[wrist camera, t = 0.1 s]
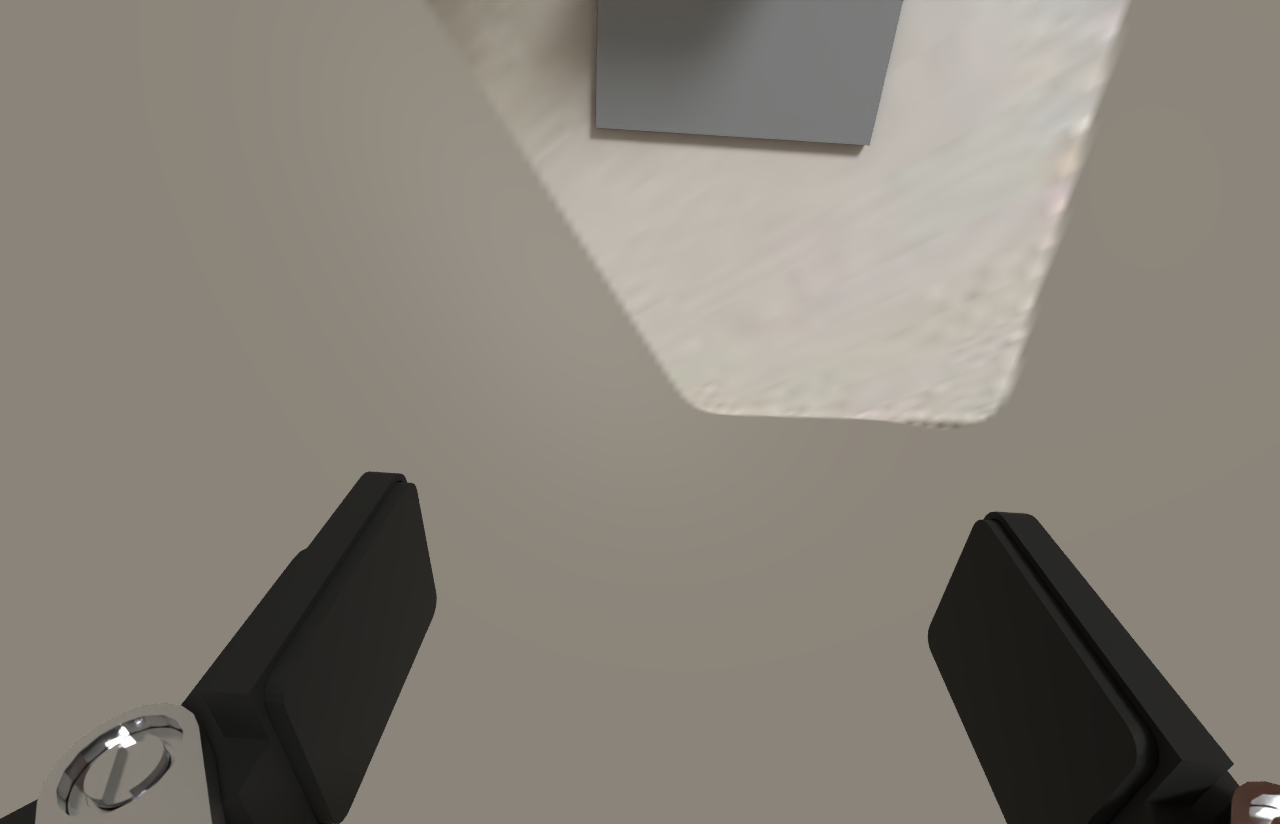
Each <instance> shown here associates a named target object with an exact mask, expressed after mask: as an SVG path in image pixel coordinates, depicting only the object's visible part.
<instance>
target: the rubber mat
mask: <svg viewBox="0 0 1280 824" xmlns="http://www.w3.org/2000/svg"><path fill="white" fill-rule="evenodd" d="M902 3H903V0H598V9H597V76H596V128H610V129H625V130H640V131H656V132H671V133H687V134H702V135H717V136H733V137H748V138H764V139H779V140H794V141H810V142H825V143H841V144H856V145H870V141H871V136H872V132H873V128H874V123H875V119H876V115H877V111H878V106H879V102H880V98H881V93H882V89H883V85H884V80H885V76H886V72H887V67H888V63H889V59H890V54H891V50H892V46H893V42H894V37H895V33H896V29H897V24H898V20H899V16H900V11H901V7H902Z"/></svg>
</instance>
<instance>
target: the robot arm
mask: <svg viewBox="0 0 1280 824" xmlns="http://www.w3.org/2000/svg"><path fill="white" fill-rule="evenodd" d="M436 599H437V597H436V590H435V584H434V579H433V573H432V568H431V563H430V557H429V552H428V547H427V542H426V536H425V531H424V525H423V520H422V514H421V509H420V504H419V498H418V493H417V489H416V486H415V484H413V483H407V481H406V478H405V476H404V475H403V474H398V473H382V472H366V473H365V474H363V475H362V476H361V478H360V479H359V480H358V481H357V483H356V484H355V485H354V487H353V488H352V489H351V491H350V492H349V493H348V495H347V496H346V498H345V499H344V500H343V501H342V503H341V504H340V505H339V507H338V508H337V509H336V511H335V512H334V513H333V515H332V516H331V517H330V519H329V520H328V521H327V523H326V524H325V525H324V526H323V528H322V529H321V530H320V532H319V533H318V534H317V536H316V537H315V538H314V540H313V541H312V542H311V544H310V545H309V546H308V548H306V549H304V550H302V551H301V552H299V554H298V555H297V556H296V557H295V558H294V559H293V560H292V561H291V563H290V564H289V565H288V566H287V568H286V569H285V570H284V572H283V573H282V574H281V576H280V577H279V578H278V579H277V581H276V582H275V583H274V585H273V586H272V587H271V589H270V590H269V591H268V593H267V594H266V595H265V597H264V598H263V599H262V600H261V602H260V603H259V604H258V605H257V607H256V608H255V610H254V611H253V612H252V614H251V615H250V616H249V617H248V619H247V620H246V621H245V622H244V624H243V625H242V626H241V628H240V629H239V630H238V632H237V633H236V634H235V636H234V637H233V638H232V640H231V641H230V642H229V643H228V645H227V646H226V647H225V649H224V650H223V651H222V652H221V654H220V655H219V656H218V658H217V659H216V660H215V662H214V663H213V664H212V666H211V667H210V668H209V669H208V671H207V672H206V673H205V675H204V676H203V677H202V679H201V680H200V681H199V683H198V684H197V685H196V686H195V688H194V689H193V690H192V692H191V693H190V694H189V696H188V697H187V698H186V700H185V701H184V702H183V703H182V705H174V704H168V703H161V704H153V705H145V706H142V707H139V708H136V709H133V710H130V711H127V712H124V713H122V714H119V715H118V716H116V717H114V718H112V719H110V720H108V721H106V722H105V723H103V724H101V725H99V726H97V727H96V728H95V729H93V730H92V731H91V732H89V733H88V734H87V735H85V736H84V737H83V738H81V739H80V740H78V741H77V742H76V743H75V744H74V745H73V746H72V747H71V748H70V749H69V750H68V751H67V752H66V753H65V754H64V755H63V756H62V757H61V758H60V759H59V760H58V761H57V762H56V764H55V766H54V767H53V769H52V770H51V771H50V773H49V774H48V776H47V778H46V779H45V781H44V782H43V784H42V788H41V791H40V795H39V798H38V799H37V800H35V801H33V802H32V803H30V804H28V805H26V806H24V807H22V808H20V809H18V810H16V811H14V812H12V813H11V814H9V815H7V816H5V817H3V818H1V819H0V824H340V823H341V822H342V821H343V820H344V818H345V817H346V815H347V814H348V812H349V810H350V807H351V805H352V803H353V801H354V798H355V796H356V794H357V791H358V789H359V787H360V784H361V782H362V780H363V777H364V775H365V773H366V771H367V768H368V766H369V764H370V761H371V759H372V757H373V754H374V752H375V749H376V747H377V745H378V743H379V740H380V738H381V736H382V733H383V731H384V729H385V727H386V724H387V722H388V720H389V717H390V715H391V713H392V710H393V708H394V706H395V703H396V701H397V699H398V697H399V694H400V692H401V690H402V687H403V685H404V683H405V680H406V678H407V676H408V673H409V671H410V669H411V667H412V664H413V662H414V659H415V657H416V655H417V652H418V650H419V648H420V646H421V643H422V641H423V639H424V636H425V634H426V632H427V630H428V627H429V625H430V623H431V620H432V618H433V615H434V612H435V608H436ZM928 643H929V647H930V650H931V653H932V655H933V657H934V660H935V662H936V664H937V666H938V668H939V671H940V673H941V675H942V678H943V680H944V682H945V684H946V687H947V689H948V691H949V693H950V696H951V698H952V700H953V703H954V705H955V707H956V709H957V712H958V714H959V716H960V718H961V721H962V723H963V725H964V727H965V730H966V732H967V734H968V736H969V739H970V741H971V743H972V745H973V748H974V750H975V752H976V754H977V757H978V759H979V761H980V763H981V766H982V768H983V770H984V772H985V775H986V777H987V779H988V782H989V784H990V786H991V788H992V791H993V792H994V795H995V797H996V799H997V802H998V804H999V806H1000V809H1001V811H1002V813H1003V815H1004V818H1005V820H1006V822H1007V824H1280V785H1278V784H1274V783H1270V782H1266V781H1258V782H1257V781H1252V782H1246V783H1244V784H1242V785H1241V786H1239V785H1238V784H1237V782H1236V781H1235V780H1234V779H1233V777H1232V776H1231V775H1230V774H1229V772H1227V770H1228V769H1229V768H1230V767H1231V766H1232V765H1233V764H1234V763H1233V762H1232V761H1231V760H1230V759H1229V757H1228V756H1227V755H1226V753H1225V752H1224V751H1223V750H1222V748H1221V747H1220V746H1219V745H1218V743H1216V741H1215V740H1214V739H1213V737H1212V736H1211V735H1210V734H1209V733H1208V731H1207V730H1206V729H1205V727H1204V726H1203V725H1202V724H1201V722H1200V721H1199V720H1198V719H1197V717H1196V716H1195V715H1194V714H1193V713H1192V711H1191V710H1190V709H1189V708H1188V706H1187V705H1186V704H1185V703H1184V701H1183V700H1182V699H1181V698H1180V696H1179V695H1178V694H1177V693H1176V691H1175V690H1174V689H1173V688H1172V686H1171V685H1170V684H1169V683H1168V681H1167V680H1166V679H1165V678H1164V677H1163V675H1162V674H1161V673H1160V672H1159V670H1158V669H1157V668H1156V667H1155V665H1154V664H1153V663H1152V662H1151V660H1150V659H1149V658H1148V657H1147V656H1146V654H1145V653H1144V652H1143V650H1142V649H1141V648H1140V647H1139V646H1138V644H1137V643H1136V642H1135V641H1134V639H1133V638H1132V637H1131V636H1130V634H1129V633H1128V632H1127V631H1126V629H1125V628H1124V627H1123V626H1122V624H1121V623H1120V622H1119V621H1118V619H1117V618H1116V617H1115V616H1114V614H1113V613H1112V612H1111V611H1110V610H1109V608H1108V607H1107V606H1106V605H1105V603H1104V602H1103V601H1102V600H1101V598H1100V597H1099V596H1098V595H1097V593H1096V592H1095V591H1094V590H1093V588H1092V587H1091V586H1090V585H1089V584H1088V582H1087V581H1086V580H1085V578H1084V577H1083V576H1082V575H1081V574H1080V572H1079V571H1078V570H1077V569H1076V567H1075V566H1074V565H1073V564H1072V562H1071V561H1070V560H1069V559H1068V558H1067V556H1066V555H1065V554H1064V553H1063V551H1062V550H1061V549H1060V547H1059V546H1058V545H1057V544H1056V543H1055V542H1054V540H1053V539H1052V538H1051V536H1050V535H1049V534H1048V533H1047V531H1046V530H1045V529H1044V528H1043V526H1042V525H1041V524H1040V523H1039V522H1038V520H1037V519H1036V518H1035V517H1033V516H1032V515H1029V514H1023V513H1007V512H990V513H989V514H988V515H986V516H985V518H984V520H978V521H977V522H976V523H975V524H974V526H973V528H972V530H971V532H970V535H969V537H968V539H967V542H966V544H965V547H964V549H963V551H962V553H961V556H960V558H959V560H958V562H957V565H956V567H955V569H954V571H953V574H952V576H951V578H950V581H949V583H948V585H947V588H946V590H945V592H944V594H943V597H942V599H941V602H940V604H939V606H938V608H937V610H936V613H935V615H934V617H933V620H932V622H931V624H930V627H929V630H928Z"/></svg>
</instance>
